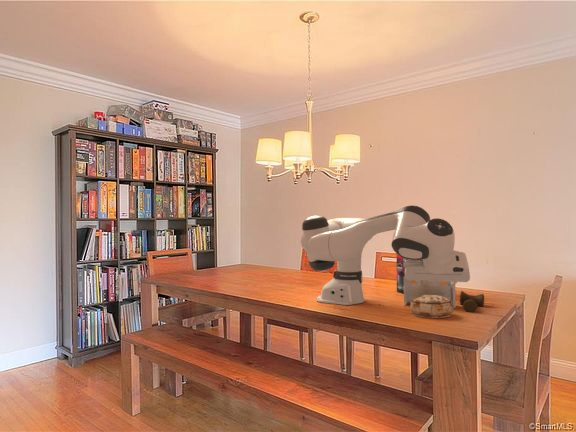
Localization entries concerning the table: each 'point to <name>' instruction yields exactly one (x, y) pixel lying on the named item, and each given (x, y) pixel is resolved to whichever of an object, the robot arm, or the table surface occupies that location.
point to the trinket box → (431, 306)
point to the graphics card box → (400, 273)
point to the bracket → (428, 290)
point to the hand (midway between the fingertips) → (435, 285)
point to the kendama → (471, 301)
